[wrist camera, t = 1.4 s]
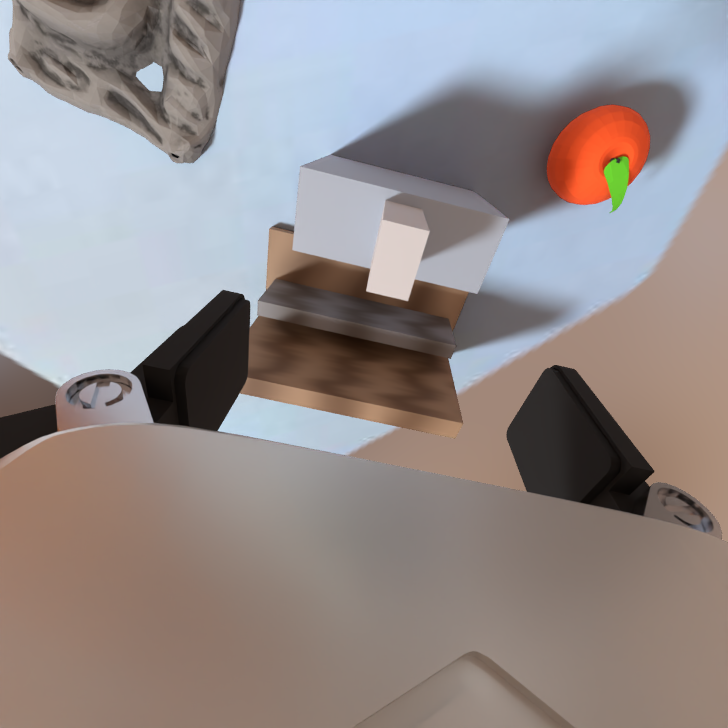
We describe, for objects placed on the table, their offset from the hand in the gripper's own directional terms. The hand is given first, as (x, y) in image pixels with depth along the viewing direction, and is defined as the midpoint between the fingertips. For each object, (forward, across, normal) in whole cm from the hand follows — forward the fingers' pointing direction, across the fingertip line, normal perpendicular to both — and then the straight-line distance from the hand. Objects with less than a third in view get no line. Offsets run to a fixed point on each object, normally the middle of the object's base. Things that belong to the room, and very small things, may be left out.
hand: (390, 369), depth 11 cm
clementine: (+28, -15, -8) cm, 33 cm away
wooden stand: (+28, +1, +10) cm, 30 cm away
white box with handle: (+28, 0, -1) cm, 28 cm away
